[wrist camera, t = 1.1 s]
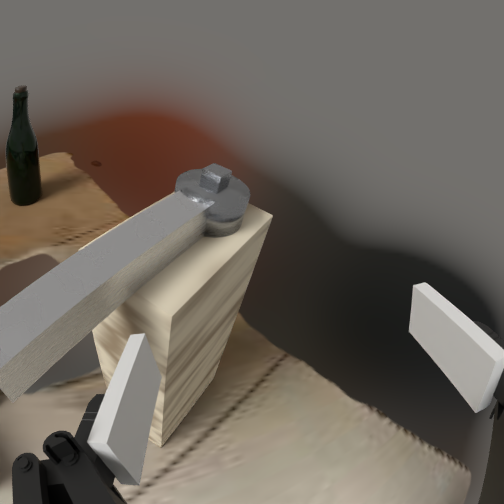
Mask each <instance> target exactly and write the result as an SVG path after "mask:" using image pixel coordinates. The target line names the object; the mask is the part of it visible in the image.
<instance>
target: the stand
mask: <svg viewBox="0 0 504 504" xmlns="http://www.w3.org/2000/svg"><path fill="white" fill-rule="evenodd" d="M174 193H175V192H174ZM174 193H172V194H174ZM172 194H170V195H172ZM170 195H168V196H167V197H169V196H170ZM167 197H165V198H167ZM165 198H163V199H165ZM163 199H161V200H159V201H158V202H160V201H162V200H163ZM158 202H156V203H158ZM156 203H154V204H153V205H155V204H156ZM153 205H151V206H153ZM151 206H149V207H151ZM149 207H148V208H149ZM148 208H146V209H148ZM146 209H144V210H146ZM144 210H142V211H141V212H143V211H144ZM141 212H139V213H141ZM139 213H137V214H135V215H134V216H136V215H138V214H139ZM134 216H132V217H134ZM132 217H130V218H129V219H131V218H132ZM272 217H273V216H272V215H271V214H269V213H267V212H265V211H263V210H261V209H259V208H256V207H255V206H253V205H251V204H249V203H248V205H247V208H246V211H245V214H244V218H243V221H242V225H241V227H240V229H239V230H238V231H237V232H236V233H234V234H232V235H229V236H226V237H219V238H212V237H204V236H203V237H202V238H201V239H200V240H198V241H197V242H196V243H195V244H193V245H192V246H191V247H190V248H189V249H187V250H186V251H185V252H184V253H182V254H181V255H180V256H179V257H177V258H176V259H175V260H174V261H173V262H171V263H170V264H169V265H168V266H167V267H165V268H164V269H163V270H162V271H161V272H159V273H158V274H157V275H156V276H154V277H153V278H152V279H151V280H150V281H149V282H147V283H146V284H145V285H144V286H143V287H141V288H140V289H139V290H138V291H137V292H135V293H134V294H133V295H132V296H131V297H130V298H128V299H127V300H126V301H125V302H124V303H123V304H121V305H120V306H119V307H118V308H117V309H116V310H114V311H113V312H112V313H111V314H110V315H109V316H108V317H106V318H105V319H104V320H103V321H102V322H101V323H99V324H98V325H97V326H96V327H95V328H94V329H93V330H92V331H93V336H94V340H95V345H96V349H97V353H98V357H99V361H100V365H101V369H102V373H103V376H104V380H105V383H106V387H107V389H108V386H109V384H110V381H111V379H112V376H113V374H114V372H115V369H116V367H117V365H118V362H119V360H120V358H121V355H122V353H123V351H124V348H125V346H126V344H127V341H128V339H129V337H130V335H133V334H143V333H145V335H146V337H147V340H148V343H149V345H150V348H151V351H152V353H153V356H154V359H155V361H156V364H157V366H158V369H159V371H160V374H161V376H162V379H161V383H160V387H159V392H158V396H157V400H156V405H155V410H154V414H153V419H152V423H151V428H150V433H149V438H148V439H149V440H150V441H152V442H153V443H155V444H156V445H158V446H159V447H162V446H163V445H164V444H165V442H166V441H167V440H168V438H169V437H170V436H171V435H172V433H173V432H174V431H175V429H176V428H177V427H178V425H179V424H180V423H181V421H182V420H183V419H184V417H185V416H186V415H187V414H188V412H189V411H190V410H191V408H192V407H193V406H194V404H195V403H196V402H197V400H198V399H199V398H200V396H201V395H202V393H203V392H204V391H205V389H206V388H207V387H208V385H209V384H210V383H211V381H212V380H213V378H214V376H215V373H216V370H217V368H218V365H219V362H220V360H221V357H222V354H223V351H224V349H225V346H226V343H227V341H228V338H229V335H230V332H231V330H232V327H233V324H234V321H235V319H236V316H237V313H238V311H239V308H240V305H241V302H242V299H243V297H244V294H245V291H246V288H247V286H248V283H249V280H250V277H251V275H252V272H253V269H254V266H255V264H256V261H257V258H258V255H259V253H260V250H261V247H262V244H263V242H264V239H265V236H266V233H267V231H268V228H269V225H270V222H271V219H272ZM129 219H127V220H129ZM127 220H125V221H124V222H126V221H127ZM124 222H122V223H120V224H119V225H121V224H123V223H124ZM119 225H117V226H115V227H114V228H116V227H118V226H119ZM114 228H112V229H110V230H109V231H107V232H106V233H108V232H110V231H111V230H113V229H114ZM106 233H104V234H102V235H101V236H99V237H98V238H100V237H102V236H103V235H105V234H106ZM98 238H96V239H95V240H97V239H98ZM95 240H93V241H91V242H90V243H88V244H87V245H85V246H84V247H86V246H88V245H89V244H91V243H92V242H94V241H95ZM84 247H82V248H81V249H83V248H84ZM81 249H79V251H80V250H81Z"/></svg>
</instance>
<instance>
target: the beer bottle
mask: <svg viewBox="0 0 504 504" xmlns="http://www.w3.org/2000/svg"><path fill="white" fill-rule="evenodd" d="M6 166H7V176H8V185H9V192H10V198H11V201H12V202H13V203H14V204H16V205H28V204H31V203H33V202H35V201H36V200H38V199H39V198H40V196H41V194H42V185H41V175H40V164H39V152H38V143H37V139H36V136H35V133H34V131H33V128H32V126H31V123H30V120H29V114H28V90H27V86H18V87H16V88H15V92H14V94H13V118H12V125H11V129H10V132H9V136H8V139H7V144H6Z"/></svg>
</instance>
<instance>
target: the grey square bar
mask: <svg viewBox="0 0 504 504" xmlns="http://www.w3.org/2000/svg"><path fill="white" fill-rule="evenodd" d="M231 173H232V171H231V170H229V169H226V168H224V167H222V166H220V165H217V164H215V163H214V164H212V165H209V166H208V167H206V168H203V169H195V170H190V171H186V172H184V173H182V174H181V175H180V176H179V177H178V178H177V182H176V188H175V193H174V194H172V195H170V196H169V197H167V198H165V199H163V200H162V201H160V202H158V203H156V204H155V205H153V206H151V207H149V208H148V209H146V210H144V211H143V212H141V213H139V214H138V215H136V216H134V217H132V218H131V219H129V220H127V221H126V222H124V223H123V224H121V225H119V226H118V227H116V228H114V229H113V230H111V231H110V232H108V233H106V234H105V235H103V236H102V237H100V238H98V239H97V240H95V241H94V242H92V243H91V244H89V245H88V246H86V247H84V248H83V249H81V250H80V251H78V252H77V253H75V254H74V255H72V256H71V257H69V258H68V259H66V260H65V261H63V262H62V263H61V264H59V265H58V266H56V267H55V268H53V269H52V270H50V271H49V272H48V273H46V274H45V275H43V276H42V277H40V278H39V279H38V280H37V281H35V282H33V283H32V284H31V285H29V286H28V287H27V288H25V289H24V290H23V291H21V292H20V293H18V294H17V295H16V296H15V297H13V298H12V299H10V300H9V301H8V302H7V303H5V304H4V305H3V306H1V307H0V389H1V390H2V391H3V392H4V394H5V395H6V396H7V397H8V398H9V399H10V401H11V402H12V403H13V402H14V401H16V400H17V399H18V398H19V397H20V396H21V395H22V394H23V393H24V392H25V391H26V390H27V389H28V388H29V387H30V386H31V385H32V384H33V383H34V382H35V381H37V380H38V379H39V378H40V377H41V376H42V375H43V374H44V373H45V372H46V371H47V370H48V369H49V368H51V367H52V366H53V365H54V364H55V363H56V362H57V361H58V360H59V359H60V358H61V357H62V356H64V355H65V354H66V353H67V352H68V351H69V350H70V349H71V348H72V347H74V346H75V345H76V344H77V343H78V342H79V341H80V340H81V339H83V338H84V337H85V336H86V335H87V334H88V333H89V332H90V331H92V330H93V329H94V328H95V327H96V326H97V325H98V324H99V323H101V322H102V321H103V320H104V319H105V318H106V317H108V316H109V315H110V314H111V313H112V312H113V311H114V310H116V309H117V308H118V307H119V306H120V305H121V304H123V303H124V302H125V301H126V300H127V299H128V298H130V297H131V296H132V295H133V294H134V293H135V292H137V291H138V290H139V289H140V288H141V287H143V286H144V285H145V284H146V283H147V282H149V281H150V280H151V279H152V278H153V277H154V276H156V275H157V274H158V273H159V272H161V271H162V270H163V269H164V268H165V267H167V266H168V265H169V264H170V263H171V262H173V261H174V260H175V259H176V258H177V257H179V256H180V255H181V254H182V253H184V252H185V251H186V250H187V249H189V248H190V247H191V246H192V245H193V244H195V243H196V242H197V241H198V240H200V239H201V238H202V237H203V236H204V237H212V238H219V237H226V236H229V235H232V234H234V233H236V232H237V231H238V230H239V229H240V227H241V225H242V221H243V218H244V214H245V211H246V208H247V205H248V201H249V198H250V191H249V189H248V187H247V186H246V185H245V184H244V183H243V182H242V181H240V180H239V179H237V178H236V177H234V176H232V175H231Z"/></svg>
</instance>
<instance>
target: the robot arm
mask: <svg viewBox="0 0 504 504" xmlns="http://www.w3.org/2000/svg"><path fill="white" fill-rule="evenodd" d="M409 332H410V333H411V334H412V335H413V337H414V338H415V339H416V340H417V341H418V342H419V344H420V345H421V346H422V347H423V348H424V349H425V351H426V352H427V353H428V354H429V355H430V357H431V358H432V359H433V360H434V361H435V363H436V364H437V365H438V366H439V367H440V368H441V370H442V371H443V372H444V374H445V375H446V376H447V377H448V378H449V379H450V381H451V382H452V383H453V385H454V386H455V387H456V388H457V390H458V391H459V392H460V394H461V395H462V396H463V397H464V399H465V400H466V401H467V402H468V404H469V405H470V406H471V408H472V409H473V410H474V411H475V413H477V412H479V411H480V410H482V409H484V408H486V407H488V406H489V404H490V402H491V400H492V397H493V396H494V397H495V398H496V399H497V402H496V405H495V407H494V409H493V411H492V413H491V415H490V419H491V418H492V417H493V415H494V423H493V432H492V440H491V446H490V452H489V458H488V464H487V469H486V474H485V479H484V483H483V487H482V492H481V496H480V500H479V503H478V504H504V340H503V339H501V338H499V336H498V335H497V334H496V333H494V332H493V331H492V330H491V329H490V328H489V327H488V326H487V325H484V324H482V323H480V322H478V321H477V322H472V321H471V320H470V319H469V318H468V317H467V316H465V315H464V314H463V313H462V312H461V311H460V310H458V309H457V308H456V307H455V306H454V305H453V304H451V303H450V302H449V301H448V300H446V299H445V298H444V297H443V296H442V295H440V294H439V293H438V292H437V291H436V290H434V289H433V288H432V287H431V286H429V285H428V284H427V283H422V284H417V285H414V286H413V297H412V308H411V317H410V326H409ZM161 379H162V376H161V374H160V371H159V369H158V366H157V364H156V361H155V359H154V356H153V353H152V351H151V348H150V345H149V343H148V340H147V337H146V335H145V333H143V334H133V335H130V337H129V339H128V341H127V344H126V346H125V348H124V351H123V353H122V355H121V358H120V360H119V362H118V365H117V367H116V369H115V372H114V374H113V376H112V379H111V381H110V384H109V386H108V389H107V391H106V393H105V394H96V396H95V397H94V398H93V399H92V400H91V401H90V402H89V404H88V406H87V408H86V411H85V412H86V413H84V416H83V418H82V420H81V423H80V425H79V428H78V430H77V432H76V435H75V437H73V436H72V435H71V433H69V432H67V431H57V432H54V433H52V434H51V435H49V436H48V437H47V438H46V440H45V441H44V444H43V452H44V453H45V454H46V455H47V456H48V457H49V459H48V460H41V461H40V460H39V459H38V458H37V457H36V456H35V455H34V454H32V453H24V454H21V455H20V456H18V457H17V458H16V459H15V461H14V463H13V467H12V486H13V504H127V503H126V501H125V500H124V499H123V497H122V496H121V494H120V493H119V491H118V490H117V488H116V487H115V486H114V485H113V482H114V478H115V477H116V479H117V480H118V481H119V482H120V483H121V484H127V485H140V479H141V474H142V468H143V463H144V458H145V453H146V448H147V443H148V438H149V433H150V428H151V423H152V419H153V414H154V410H155V405H156V400H157V396H158V392H159V387H160V383H161Z"/></svg>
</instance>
